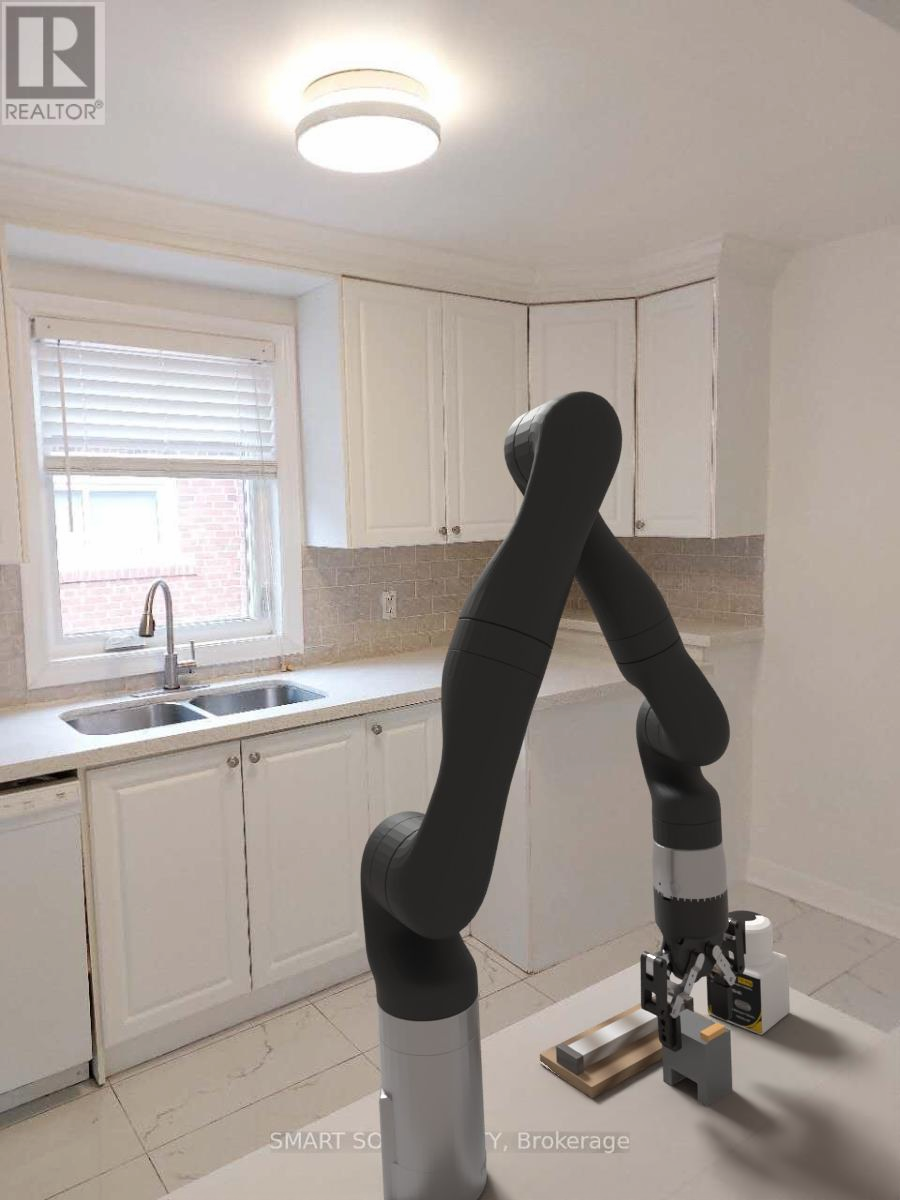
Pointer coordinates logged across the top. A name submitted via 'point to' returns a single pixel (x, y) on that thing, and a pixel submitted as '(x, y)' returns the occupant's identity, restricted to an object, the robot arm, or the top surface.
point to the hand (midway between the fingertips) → (697, 1031)
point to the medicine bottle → (758, 977)
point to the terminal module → (701, 1057)
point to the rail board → (612, 1062)
